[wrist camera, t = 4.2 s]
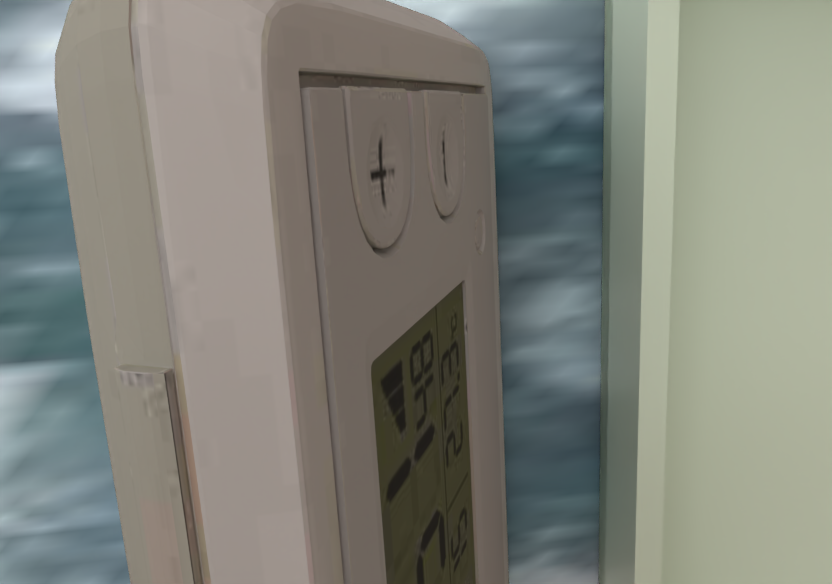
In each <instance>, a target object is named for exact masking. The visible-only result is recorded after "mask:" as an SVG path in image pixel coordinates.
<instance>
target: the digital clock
mask: <svg viewBox="0 0 832 584" xmlns="http://www.w3.org/2000/svg"><path fill="white" fill-rule="evenodd" d="M55 89H56V99H57V109H58V120H59V128H60V135H61V142H62V149H63V156H64V162H65V169H66V176H67V183H68V190H69V197H70V203H71V210H72V217H73V224H74V231H75V237H76V244H77V251H78V258H79V265H80V272H81V278H82V285H83V291H84V298H85V305H86V311H87V318H88V324H89V331H90V337H91V343H92V350H93V356H94V362H95V368H96V374H97V380H98V386H99V392H100V399H101V405H102V411H103V417H104V423H105V429H106V435H107V441H108V448H109V454H110V460H111V466H112V472H113V478H114V484H115V491H116V497H117V503H118V509H119V515H120V521H121V527H122V533H123V540H124V546H125V552H126V558H127V564H128V570H129V576H130V582H131V584H509V571H508V540H507V511H506V481H505V452H504V422H503V392H502V363H501V333H500V304H499V274H498V244H497V215H496V185H495V157H494V133H493V109H492V89H491V76H490V70H489V64H488V61H487V59H486V56H485V54H484V53H483V51H482V50H481V49H480V48H478V47H477V46H476V45H474V44H473V43H472V42H470V41H469V40H468V39H466V38H465V37H464V36H463V35H461V34H460V33H458V32H456V31H455V30H453V29H452V28H450V27H449V26H447V25H446V24H444V23H443V22H441V21H439V20H437V19H435V18H432V17H430V16H427V15H424V14H421V13H419V12H416V11H413V10H410V9H408V8H405V7H402V6H399V5H397V4H394V3H391V2H389V1H386V0H73V1H72V3H71V5H70V6H69V10H68V13H67V16H66V20H65V23H64V27H63V30H62V33H61V37H60V40H59V44H58V47H57V50H56V55H55Z"/></svg>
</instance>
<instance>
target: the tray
mask: <svg viewBox="0 0 832 584" xmlns="http://www.w3.org/2000/svg"><path fill="white" fill-rule="evenodd" d="M599 584H832V0H605V44H604V135H603V226H602V316H601V407H600V498H599Z"/></svg>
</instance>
